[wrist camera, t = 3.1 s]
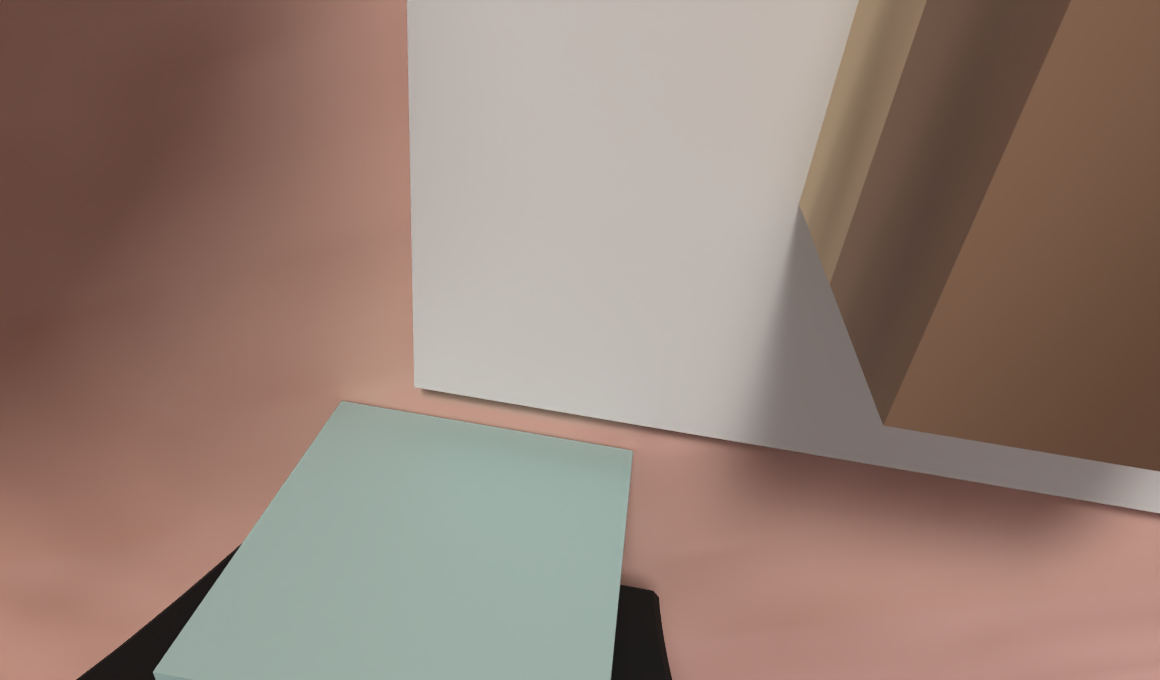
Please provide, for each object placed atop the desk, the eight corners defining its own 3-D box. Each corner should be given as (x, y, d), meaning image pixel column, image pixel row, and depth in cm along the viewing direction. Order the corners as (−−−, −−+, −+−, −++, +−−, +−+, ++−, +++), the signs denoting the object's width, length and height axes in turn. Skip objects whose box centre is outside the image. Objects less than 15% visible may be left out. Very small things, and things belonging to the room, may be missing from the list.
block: (632, 450, 10) (603, 758, 7) (595, 634, 13) (558, 938, 9) (341, 400, 11) (152, 671, 7) (358, 591, 13) (225, 870, 9)
